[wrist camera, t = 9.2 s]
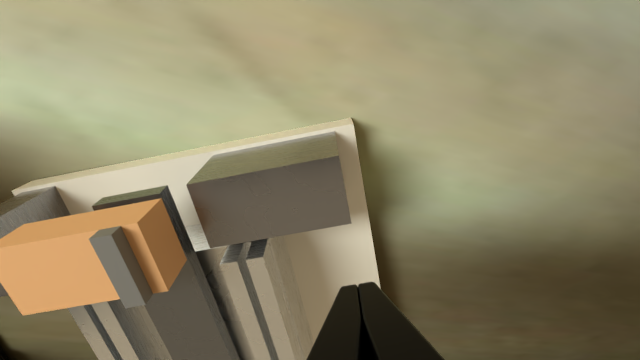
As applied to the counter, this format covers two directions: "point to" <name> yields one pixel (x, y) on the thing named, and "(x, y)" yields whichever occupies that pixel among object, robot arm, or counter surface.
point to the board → (304, 248)
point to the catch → (91, 258)
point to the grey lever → (183, 295)
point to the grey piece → (228, 248)
